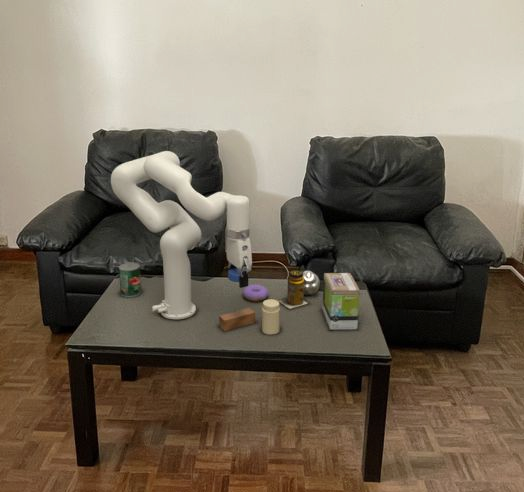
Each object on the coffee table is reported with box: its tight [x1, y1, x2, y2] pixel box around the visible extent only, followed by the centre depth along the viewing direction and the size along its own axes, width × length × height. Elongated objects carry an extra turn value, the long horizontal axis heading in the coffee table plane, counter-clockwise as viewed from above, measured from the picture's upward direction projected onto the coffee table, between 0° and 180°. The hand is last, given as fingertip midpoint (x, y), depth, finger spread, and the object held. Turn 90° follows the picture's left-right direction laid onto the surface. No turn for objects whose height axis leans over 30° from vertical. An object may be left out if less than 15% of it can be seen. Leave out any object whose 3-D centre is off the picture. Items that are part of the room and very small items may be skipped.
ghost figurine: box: [302, 270, 321, 296], centre depth 212 cm, size 9×10×10 cm
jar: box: [261, 298, 281, 335], centre depth 185 cm, size 6×6×10 cm
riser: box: [218, 307, 256, 332], centre depth 189 cm, size 12×4×4 cm, turn 121°
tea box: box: [321, 272, 361, 331], centre depth 192 cm, size 15×10×15 cm, turn 4°
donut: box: [242, 284, 269, 302], centre depth 210 cm, size 10×9×5 cm
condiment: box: [278, 269, 308, 310], centre depth 205 cm, size 7×8×12 cm
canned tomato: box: [118, 261, 142, 298], centre depth 213 cm, size 8×8×11 cm
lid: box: [227, 268, 245, 283], centre depth 186 cm, size 7×7×2 cm
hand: (238, 282), depth 186 cm, fingers closed on lid, 6 cm apart
